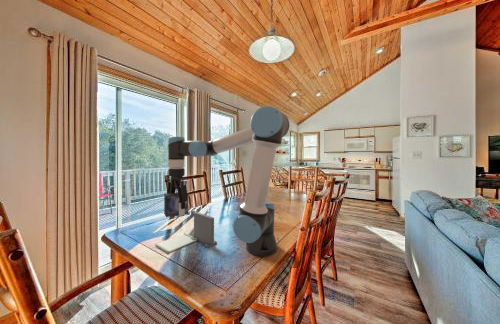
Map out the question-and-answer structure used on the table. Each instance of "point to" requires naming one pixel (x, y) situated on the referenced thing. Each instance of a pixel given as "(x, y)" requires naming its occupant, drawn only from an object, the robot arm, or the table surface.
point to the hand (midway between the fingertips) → (176, 213)
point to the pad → (175, 243)
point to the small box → (173, 204)
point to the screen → (204, 229)
